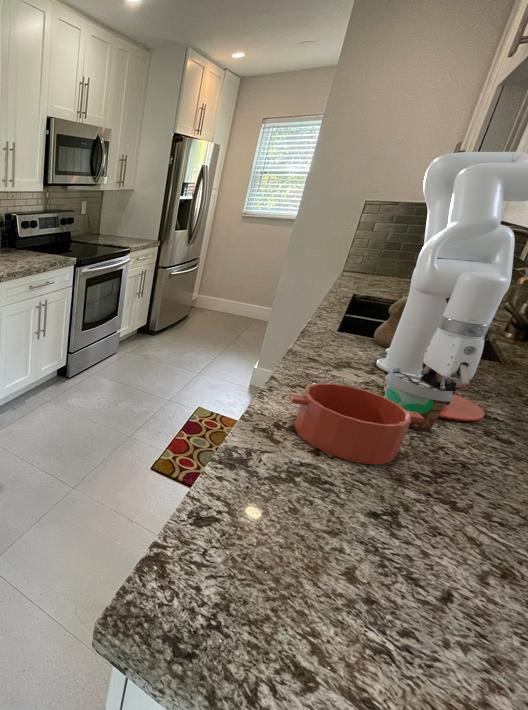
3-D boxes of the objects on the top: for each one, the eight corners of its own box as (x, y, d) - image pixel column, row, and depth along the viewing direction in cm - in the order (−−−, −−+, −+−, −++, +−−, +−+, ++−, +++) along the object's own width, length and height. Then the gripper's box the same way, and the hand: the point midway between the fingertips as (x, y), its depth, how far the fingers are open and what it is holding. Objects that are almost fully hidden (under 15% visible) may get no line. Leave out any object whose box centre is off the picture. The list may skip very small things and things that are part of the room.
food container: (359, 405, 97) (373, 367, 94) (383, 404, 98) (398, 366, 94) (410, 435, 86) (428, 393, 82) (436, 434, 86) (456, 392, 83)
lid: (369, 381, 109) (377, 360, 107) (451, 392, 104) (461, 370, 102) (405, 414, 94) (415, 391, 91) (504, 429, 89) (517, 405, 87)
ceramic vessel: (419, 341, 139) (455, 252, 128) (461, 367, 119) (508, 265, 108) (363, 335, 143) (394, 249, 132) (395, 359, 124) (434, 260, 113)
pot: (271, 408, 95) (280, 376, 92) (385, 426, 89) (399, 392, 86) (293, 451, 80) (305, 413, 77) (431, 475, 74) (450, 436, 71)
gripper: (513, 342, 84) (476, 418, 90) (458, 317, 99) (429, 384, 105) (467, 338, 86) (434, 412, 92) (420, 314, 101) (394, 379, 107)
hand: (431, 396), depth 99 cm, fingers open, 5 cm apart
